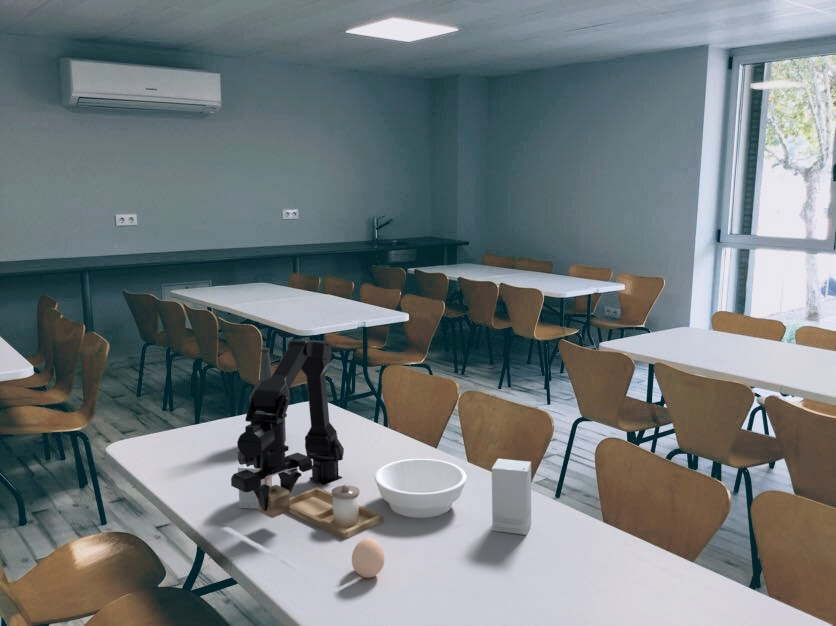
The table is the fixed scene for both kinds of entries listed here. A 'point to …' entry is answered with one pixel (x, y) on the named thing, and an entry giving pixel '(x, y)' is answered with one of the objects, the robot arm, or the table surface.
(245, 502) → the small box
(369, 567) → the egg
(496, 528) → the skincare box
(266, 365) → the bottle
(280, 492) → the beige box
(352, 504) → the sugar jar
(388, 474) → the bowl
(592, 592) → the table surface
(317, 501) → the caddy
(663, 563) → the table surface
